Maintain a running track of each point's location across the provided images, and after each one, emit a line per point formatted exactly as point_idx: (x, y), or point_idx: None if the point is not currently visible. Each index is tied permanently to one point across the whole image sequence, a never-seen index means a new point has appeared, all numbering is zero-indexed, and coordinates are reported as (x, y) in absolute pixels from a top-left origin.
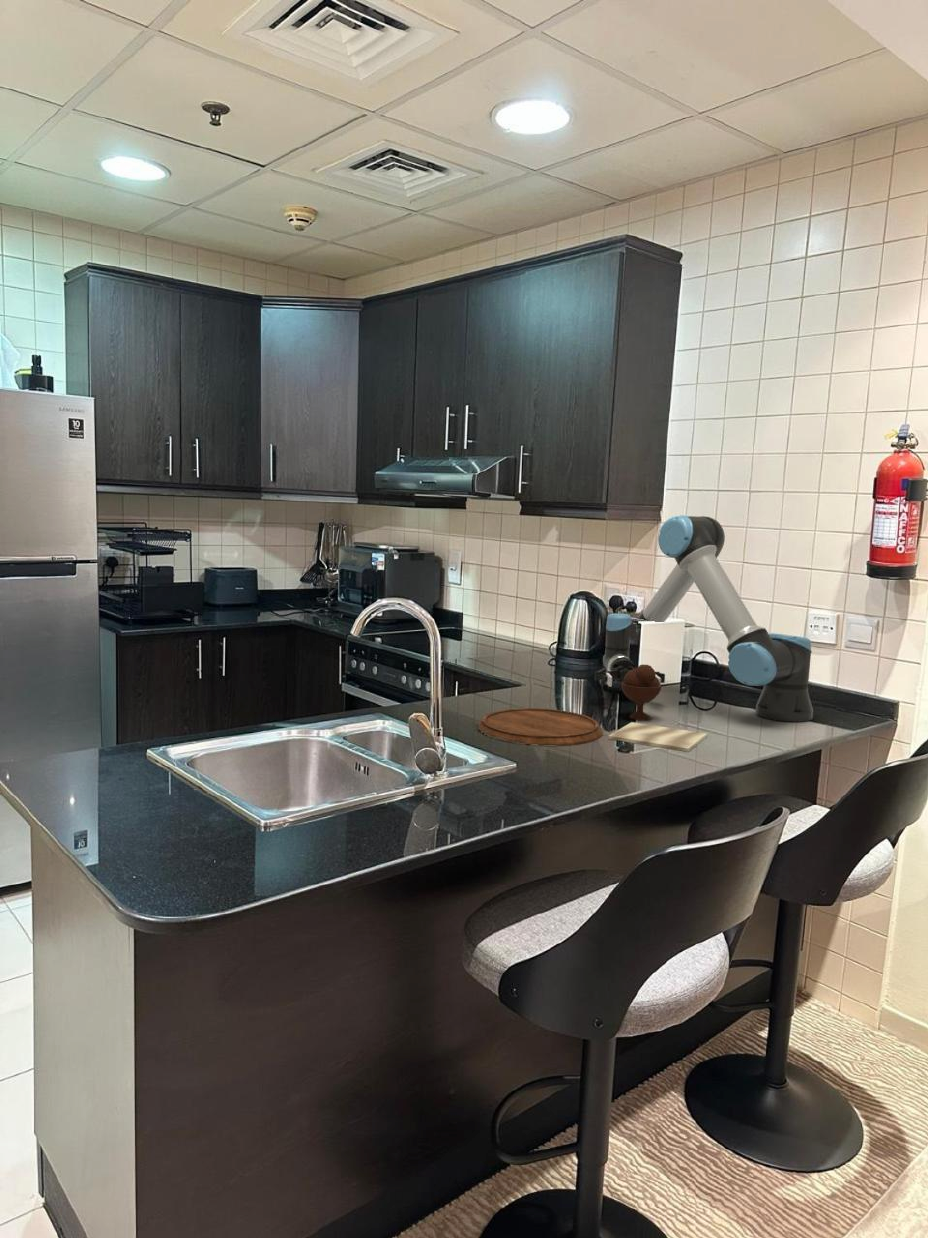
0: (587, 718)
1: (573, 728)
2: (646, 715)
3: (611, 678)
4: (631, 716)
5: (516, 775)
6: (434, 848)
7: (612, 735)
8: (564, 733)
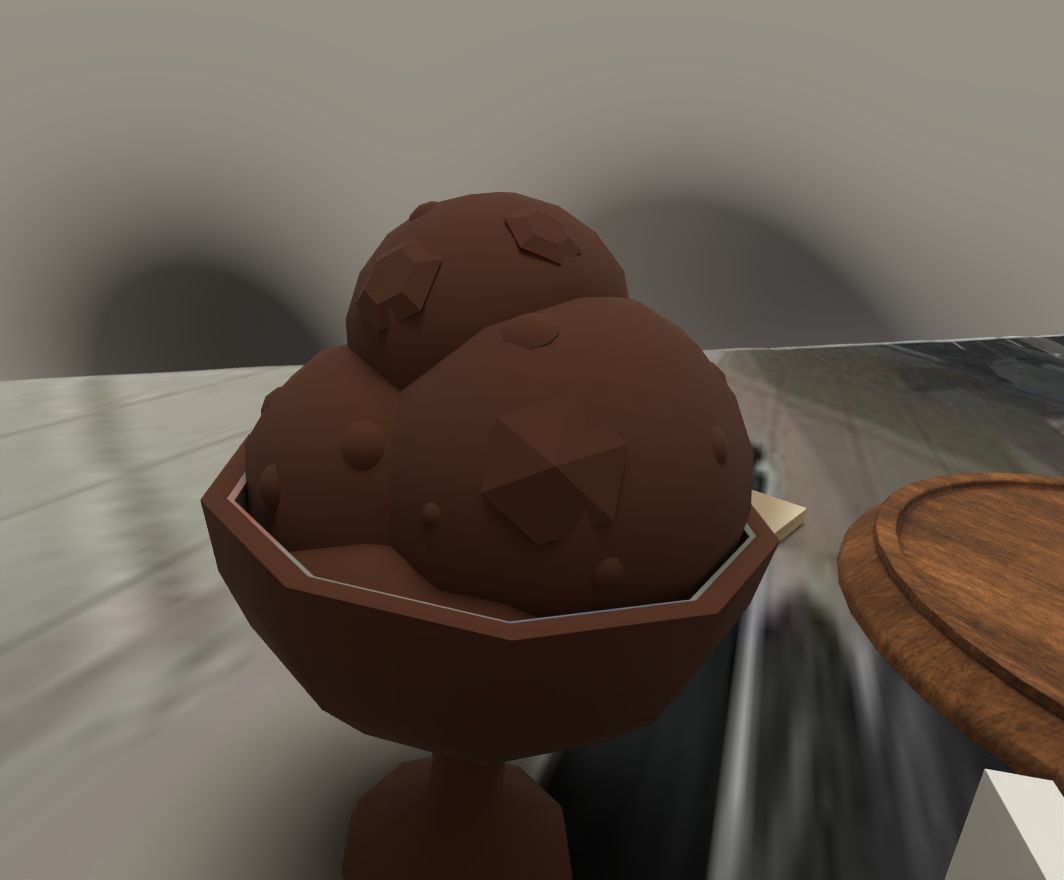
0: (991, 647)
1: (1012, 543)
2: (408, 768)
3: (992, 793)
4: (563, 823)
5: (1031, 411)
6: (1017, 338)
7: (786, 507)
8: (1027, 507)
